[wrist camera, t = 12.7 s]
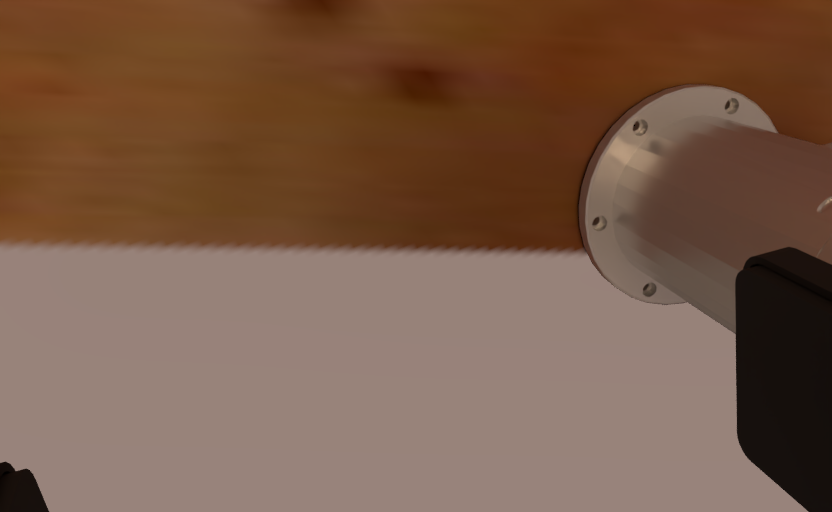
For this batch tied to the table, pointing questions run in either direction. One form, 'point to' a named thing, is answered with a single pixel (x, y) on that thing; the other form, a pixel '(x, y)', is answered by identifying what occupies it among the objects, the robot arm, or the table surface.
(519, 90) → the table surface
